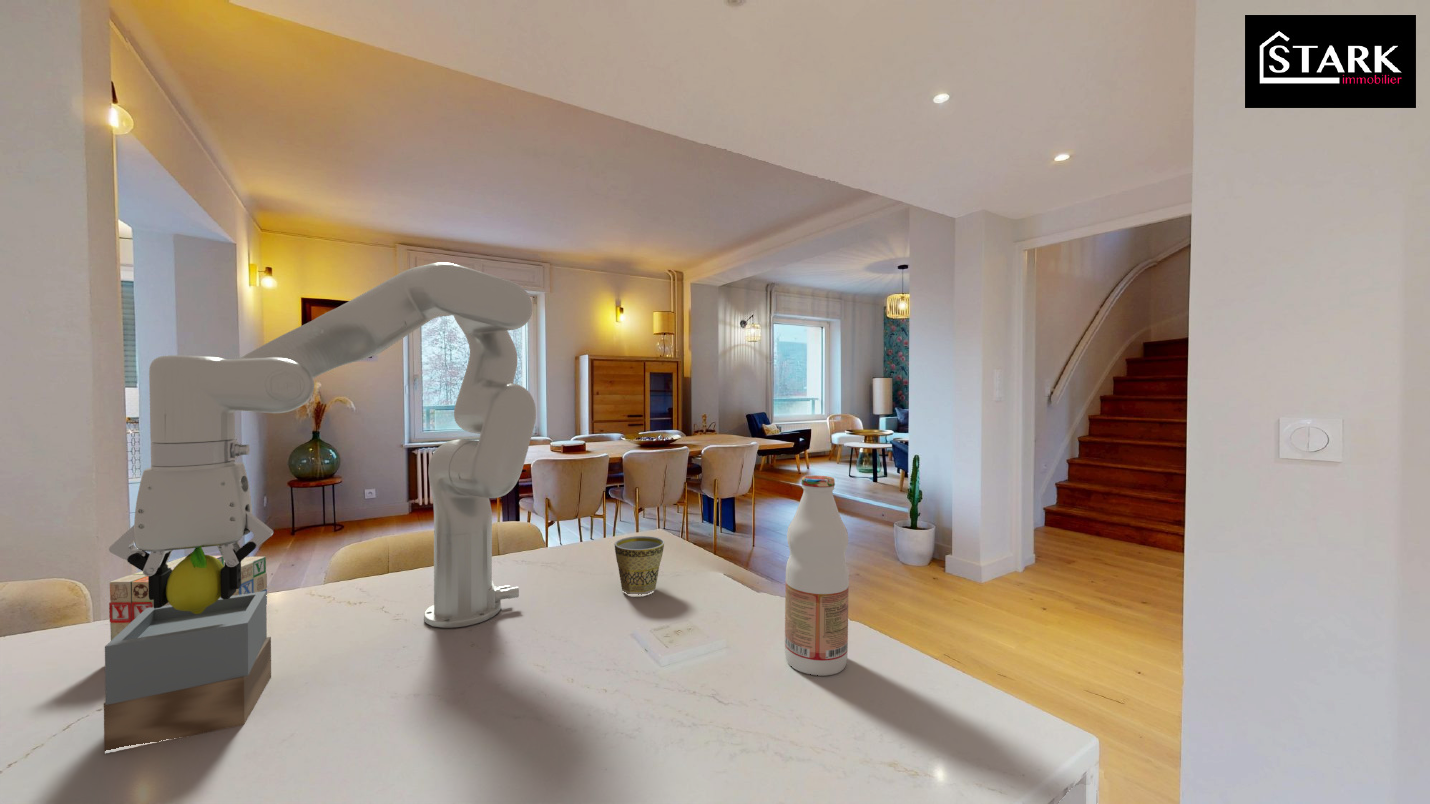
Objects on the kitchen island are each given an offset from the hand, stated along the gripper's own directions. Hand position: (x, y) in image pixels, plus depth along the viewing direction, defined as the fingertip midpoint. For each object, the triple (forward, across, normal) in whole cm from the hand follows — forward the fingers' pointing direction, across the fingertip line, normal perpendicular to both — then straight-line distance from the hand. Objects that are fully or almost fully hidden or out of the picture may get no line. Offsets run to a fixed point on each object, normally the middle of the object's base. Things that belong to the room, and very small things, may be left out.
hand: (196, 598), depth 67 cm
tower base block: (+15, 0, 0) cm, 15 cm away
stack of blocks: (+15, +9, -30) cm, 35 cm away
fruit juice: (+15, -78, +24) cm, 83 cm away
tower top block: (+9, 0, 0) cm, 9 cm away
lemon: (+2, 0, 0) cm, 2 cm away
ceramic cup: (+15, -64, -16) cm, 67 cm away
